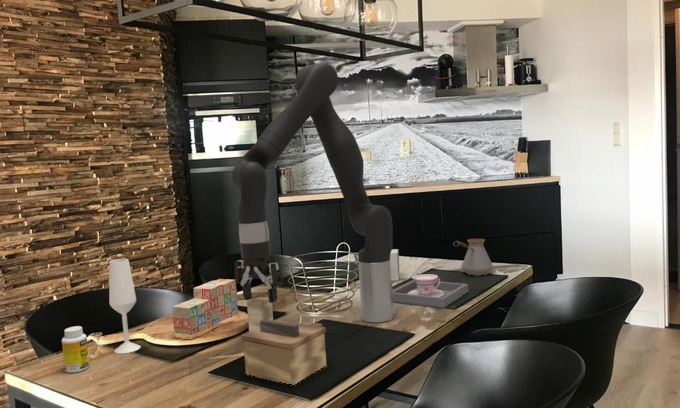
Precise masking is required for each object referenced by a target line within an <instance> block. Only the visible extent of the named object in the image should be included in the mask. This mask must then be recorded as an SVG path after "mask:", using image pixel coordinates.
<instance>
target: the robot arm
mask: <svg viewBox="0 0 680 408" xmlns="http://www.w3.org/2000/svg"><path fill="white" fill-rule="evenodd" d="M338 85H339V76H338V72H337V71H336V69H335V67H333V66H332V65H331V64H329V63H326V62H317V63H313V64H310V65H307V66H304V67H302V68H301V69H299V71H298V72H297V74H296V77H295V87H296V90H297V95H295V97H294V99H293V100H292V101H291V102H290V103H289V104H288V106H286V107H285V108H284V109H283V110H282V111H281V112H280V113H279V114H278V115H277V116H276V117H275V118H274V119H273V120H272V121H271V122H270V123H269V124H268V125H267V126H266V128H264V129H265V130H264V131H263V132H262V133H261V135H260V136H259V138H257V140H256V142H255V143H254V144H253V146H252V147H251V148H250V149H249V150H248V151H247V152H245V154H244V155H243V156H242V157H241V158H240V159H238V162H236V164H235V165H234V167H233V169H232V172H231V180H232V182H233V184H234V185H235V186H236V187H237V188H239V189H240V201H239V202H238V204H237V214H238V226H239V227H238V234H239V235H238V236H239V245H240V255H241V257H240V258H241V259H239V260H235V261H234V280H235V282H236V284H240V286H241V288H242V296H243V298H244V299H243V300H246V301H250V300H252V298H253V295H252V294H253V293H252V285H251V284H250V283H251V282H252V280H253V279H258V280H261V281H262V283H264V284H265V285H266V287H267V293H268V296H267V298H268V299H269V303H272V304H274V303H276V302H277V300H278V289H277V287H279V286H282V285H283V284H284V282H283V275H282V268H281V267H282V266H281V263H280V262H279V261H276V262H271V261H270V256H271V253H272V251H271V243H270V242H271V241H270V233H269V225H268V221H267V209H266V198H267V183H268V181H267V180H268V179H267V174H266V173H267V172H266V169H267V168H268V166H270V165H272V164H273V163H275V162H277V160H278V159H279V158H280V157H281V155H282V154H283V152H285V150H286V148H287V147H288V146H289V144H290V143H291V141H292V140H293V139H294V137H295V135H297V133H298V132H299V131H300V130H301V128H302V127H303V125H304V124H305V123H306V122H307V121H308V119H310V118H311V120H312V123H313V124H314V127H315V130H316V132H317V134H318V137H319V140H320V142H321V144H322V147H323V150H324V153H325V155H326V158H327V161H328V162H329V165H330V167H331V171H332V172H333V174H334V176H335V179H336V182H337V185H338V187H339V189H340V192H341V194H342V197H343V199H344V203H345V206H346V207H345V208H346V212H347V214H348V217H349V221H350V224H351V226H352V228H353V230H354V231H355V232H356V233H357V234H358V235H360V236H364V247H363V248H361V249H359V251H358V253H357V258H358V259H357V260H358V262H357V263H358V277H359V292H360V293H359V294H360V297H359V298H360V310H361V315H360V316H361V319H362V320H361V321H364V322H367V323H385V322H388V321H391V320H392V319H393V318H394V315H395V308H394V303H393V290H394V289H393V288H394V287H393V283H392V281H391V264H390V253H391V251H392V249H393V240H394V239H393V233H394V232H393V227H394V226H393V218H392V214H391V212H390V210H389V209H388V207H387V208H386V207H385V206H384V205H379V204H372V203H371V200H370V199H369V196H368V194H367V191H366V189H365V184H364V169H365V168H364V165H365V164H364V158H363V155H362V152H361V149H360V146H359V144H358V142H357V139H356V137H355V135H354V134H353V132H352V131H351V130H350V128H349V127H348V126H347V125H346V123H345V122H344V121H343V120H342V119H341V117H340V116H339V114H338V112H337V111H336V109H335V107H334V105H333V102H332V100H331V96H332V95H333V93H334V92H336V90H337V87H338Z"/></svg>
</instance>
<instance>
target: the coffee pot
mask: <svg viewBox="0 0 680 408" xmlns="http://www.w3.org/2000/svg"><path fill="white" fill-rule="evenodd" d="M466 241H467V242H468V245H467V244H466V243H464V242H461V240H460V241H459V240H456V241H455V242H453V244H452V245H453V246H455V243H457V247H458V246H461V247H464V248H466V249H467V251H466V254H465V256H464V259H463V260H462V264H461V267H460V268H461V270H462V271H463V272H464V273H466V275H467V274H468V275H467V276H470V275H474V276H473V277H482V276H481V275H484V276H487V275H488V274H489V273H490V272H491V271H492V269H493V267H494V266H493V265H494V264H493V263H492V261H491V259H490V256H489V254H488V252H487V250H486V247H485V246H484V243H485V242H486V239H485V238H469V239H467V240H466Z"/></svg>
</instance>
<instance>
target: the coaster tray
mask: <svg viewBox="0 0 680 408" xmlns="http://www.w3.org/2000/svg"><path fill="white" fill-rule="evenodd" d="M438 283H439V280H437V281H435V283H434V288H435V287H436V286H437V285H438ZM413 290H417V285H416V282H415V281H414V280H413V279H412V280H411V281H409V282H406V283H404V284H402V285H400V286H399V287H397V288H394V289H393V304H401V305H402V304H403V305H409V306H418V307H427V308H435V309H436V308H437V309H446V308H447V307H449V306H450V305H449V304H451V303H452V302H454V301H455V302H457V301H458V300H460V299H461V298H463V297H464V296H463V295H465V294H466V293H468V294H469V284H468V283H459V282H449V281H448V282H447V281H440V284H439V286H438V287H437V288H436V290H440V291H443V292H444V296H442V297H432V296H422V295H413V294H408V293H409V292H410V291H413ZM466 295H467V294H466ZM466 295H465V296H466ZM462 296H463V297H462ZM460 297H461V298H460ZM459 298H460V299H459ZM457 299H458V300H457ZM456 300H457V301H456ZM455 302H454V303H455ZM452 304H453V303H452ZM452 304H451V305H452ZM448 305H449V306H448Z"/></svg>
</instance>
